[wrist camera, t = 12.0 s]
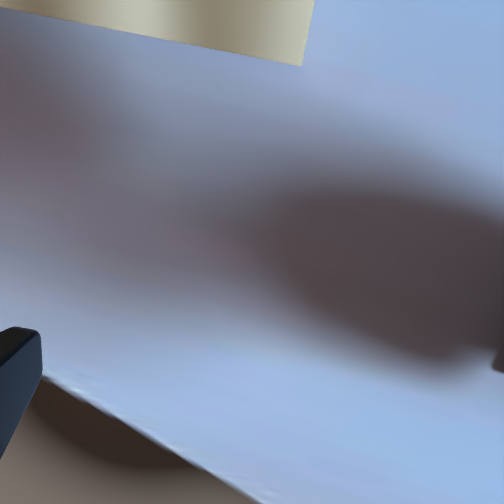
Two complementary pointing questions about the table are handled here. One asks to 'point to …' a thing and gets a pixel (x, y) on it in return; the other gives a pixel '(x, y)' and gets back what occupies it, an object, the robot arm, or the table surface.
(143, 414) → the table surface
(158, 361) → the table surface
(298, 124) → the table surface
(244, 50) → the base board
